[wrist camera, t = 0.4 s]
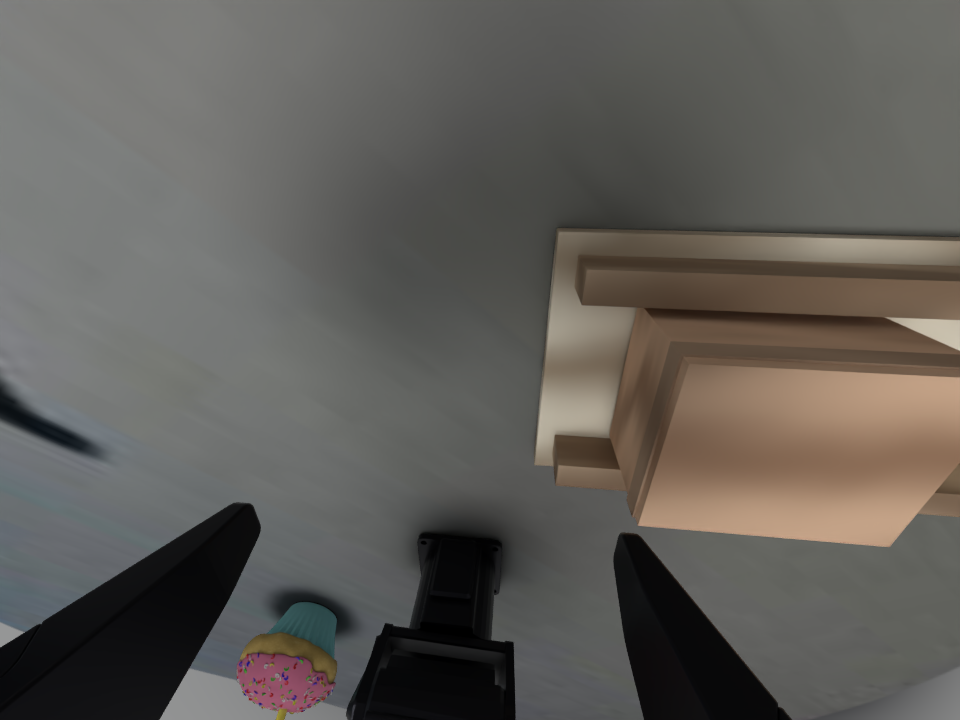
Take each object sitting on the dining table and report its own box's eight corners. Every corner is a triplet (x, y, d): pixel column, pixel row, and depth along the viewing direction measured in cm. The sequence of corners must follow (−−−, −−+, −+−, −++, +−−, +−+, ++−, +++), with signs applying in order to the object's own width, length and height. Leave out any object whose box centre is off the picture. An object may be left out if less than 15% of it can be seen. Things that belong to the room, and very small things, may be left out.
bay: (1050, 490, 22) (1151, 554, 18) (534, 453, 24) (536, 503, 21) (1306, 245, 15) (1543, 272, 12) (556, 227, 18) (565, 245, 14)
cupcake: (372, 623, 37) (312, 810, 26) (322, 645, 40) (251, 820, 29) (300, 578, 34) (202, 767, 24) (253, 607, 37) (149, 783, 27)
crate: (796, 448, 21) (890, 548, 15) (607, 436, 21) (635, 527, 16) (872, 308, 17) (1034, 378, 11) (636, 299, 17) (686, 360, 12)
